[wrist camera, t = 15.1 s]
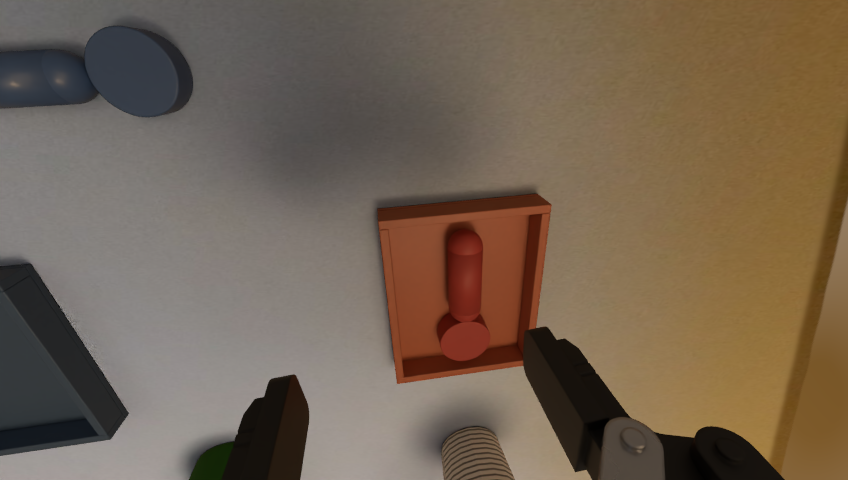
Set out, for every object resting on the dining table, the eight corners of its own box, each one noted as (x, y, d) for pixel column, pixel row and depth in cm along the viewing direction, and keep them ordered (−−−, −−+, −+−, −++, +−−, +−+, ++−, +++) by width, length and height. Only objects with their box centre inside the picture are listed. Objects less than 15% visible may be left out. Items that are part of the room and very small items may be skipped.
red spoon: (432, 226, 24) (438, 241, 22) (489, 220, 24) (500, 235, 22) (437, 349, 29) (442, 372, 27) (483, 343, 29) (492, 365, 27)
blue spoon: (-26, 125, 18) (-78, 133, 16) (-79, 37, 16) (-147, 32, 14) (203, 111, 19) (183, 116, 17) (177, 27, 17) (150, 21, 15)
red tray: (377, 208, 23) (378, 221, 21) (537, 193, 24) (551, 204, 22) (395, 363, 30) (397, 384, 28) (521, 345, 31) (531, 364, 29)
